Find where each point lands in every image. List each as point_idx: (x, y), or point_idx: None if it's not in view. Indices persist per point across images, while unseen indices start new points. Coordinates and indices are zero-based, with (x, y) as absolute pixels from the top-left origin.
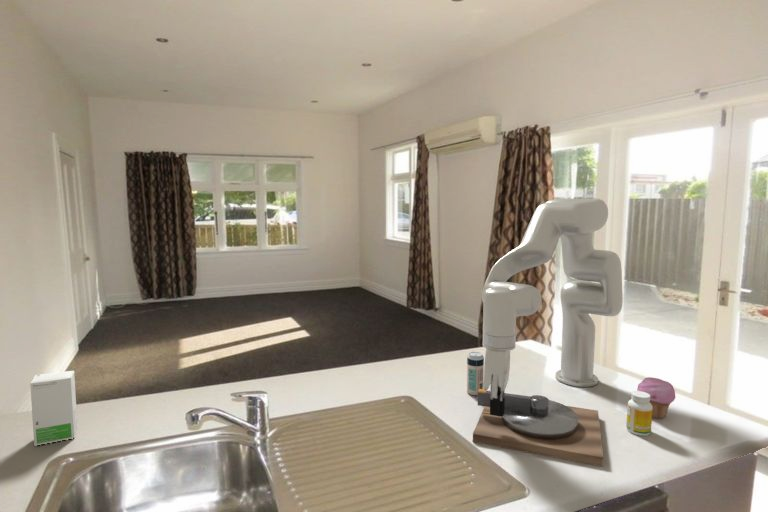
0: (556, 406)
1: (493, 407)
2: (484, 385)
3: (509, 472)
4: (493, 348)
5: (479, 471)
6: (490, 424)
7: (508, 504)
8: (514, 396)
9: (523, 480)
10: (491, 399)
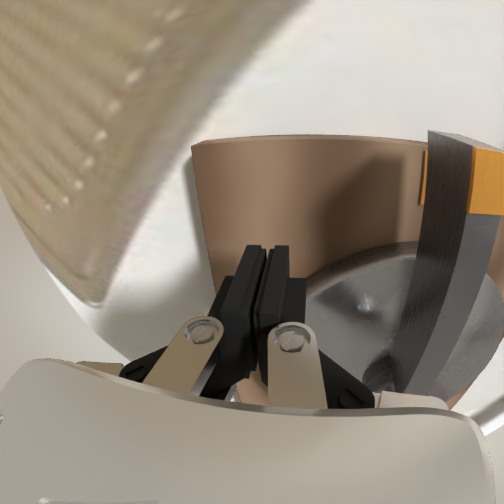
0: (436, 395)
1: (219, 295)
2: (5, 390)
3: (118, 274)
4: None
5: (80, 211)
6: (315, 202)
7: (52, 277)
8: (423, 362)
9: (114, 300)
10: (192, 324)
